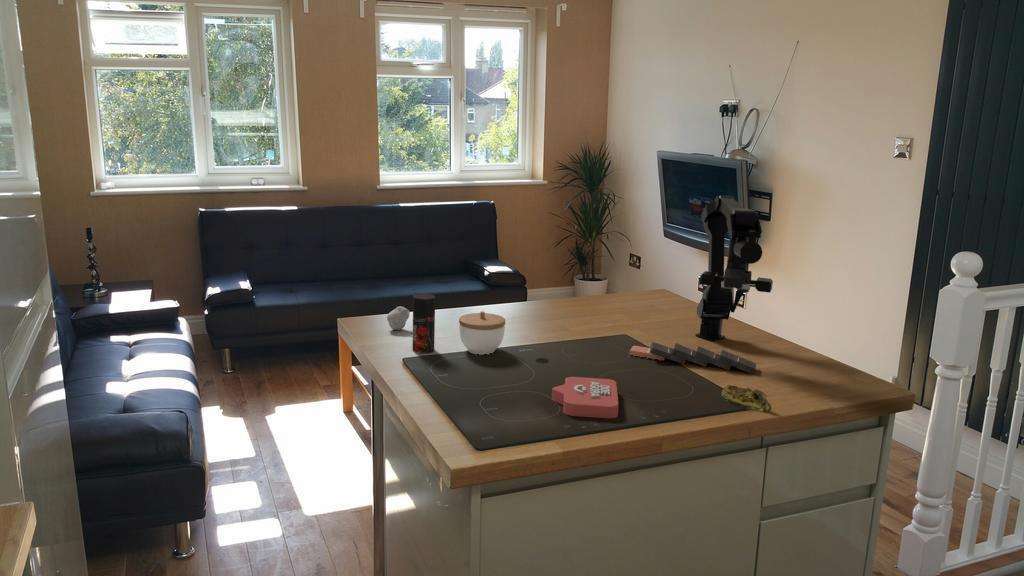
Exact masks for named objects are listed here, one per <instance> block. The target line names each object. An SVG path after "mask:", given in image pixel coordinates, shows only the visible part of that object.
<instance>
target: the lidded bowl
mask: <svg viewBox="0 0 1024 576" xmlns="http://www.w3.org/2000/svg"><path fill="white" fill-rule="evenodd" d="M458 323H459V324H458V325H459V331H458V332H459V337H460V340H461V343H462V344H463V346H464V347H465V348H466V349H467V350H468V353H471V354H473V355H477V354H479V355H478V356H482V355H483V356H485V355H484V354H487V355H491V354H490V353H492V354H493V352H494V353H495V350H497V349H498V348H499V347H500V346H501V344H502V342H503V339H504V336H505V328H506V326H505V325H506V319H505V318H504V317H503V316H501V315H499V314H494V313H487V312H485V311H483V310H482V311H480V312H474V313H473V312H472V313H467V314H463V315H461V316H460V317H459V318H458Z"/></svg>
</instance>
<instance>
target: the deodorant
mask: <svg viewBox="0 0 1024 576" xmlns="http://www.w3.org/2000/svg"><path fill="white" fill-rule="evenodd" d="M435 321H436V295H434V294H431V293H418V294H417V293H416V294H414V295H412V352H415V353H418V354H429V353H433V352H434V351H435V334H436V332H435V331H436V330H435V325H436V324H435V323H436V322H435Z"/></svg>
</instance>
